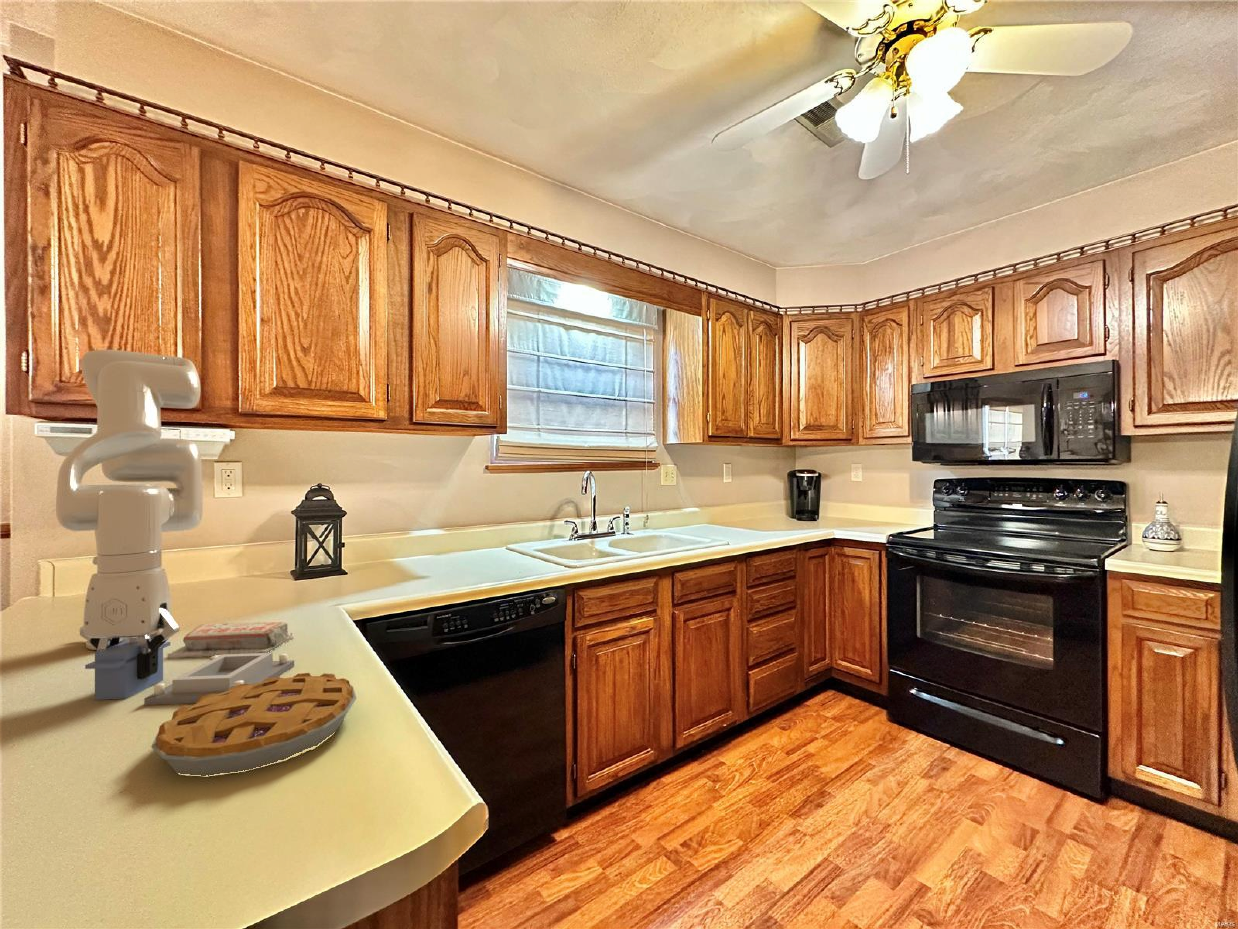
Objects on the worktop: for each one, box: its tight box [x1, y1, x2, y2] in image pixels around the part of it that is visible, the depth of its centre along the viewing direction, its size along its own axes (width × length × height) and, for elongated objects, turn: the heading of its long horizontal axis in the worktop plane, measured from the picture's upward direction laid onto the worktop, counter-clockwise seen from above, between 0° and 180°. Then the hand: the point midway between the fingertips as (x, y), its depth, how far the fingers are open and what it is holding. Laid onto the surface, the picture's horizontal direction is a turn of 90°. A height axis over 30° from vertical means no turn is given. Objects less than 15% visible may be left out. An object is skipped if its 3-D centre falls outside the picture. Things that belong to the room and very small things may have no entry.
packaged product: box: [167, 621, 295, 659], centre depth 102 cm, size 18×5×10 cm
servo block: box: [84, 637, 171, 700], centre depth 82 cm, size 4×10×8 cm, turn 4°
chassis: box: [143, 652, 295, 706], centre depth 84 cm, size 14×14×3 cm
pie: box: [150, 672, 357, 776], centre depth 68 cm, size 22×22×5 cm
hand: (130, 675), depth 82 cm, fingers closed on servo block, 4 cm apart
